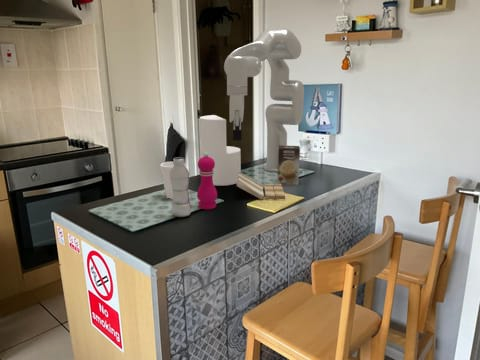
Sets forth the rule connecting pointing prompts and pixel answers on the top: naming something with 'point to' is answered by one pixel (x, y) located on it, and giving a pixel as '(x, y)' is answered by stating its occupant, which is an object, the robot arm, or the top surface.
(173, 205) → the plastic bottle
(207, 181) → the pepper mill
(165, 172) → the foam cup
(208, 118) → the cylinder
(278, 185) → the oak floorboards
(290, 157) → the coffee box
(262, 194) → the birch plank
